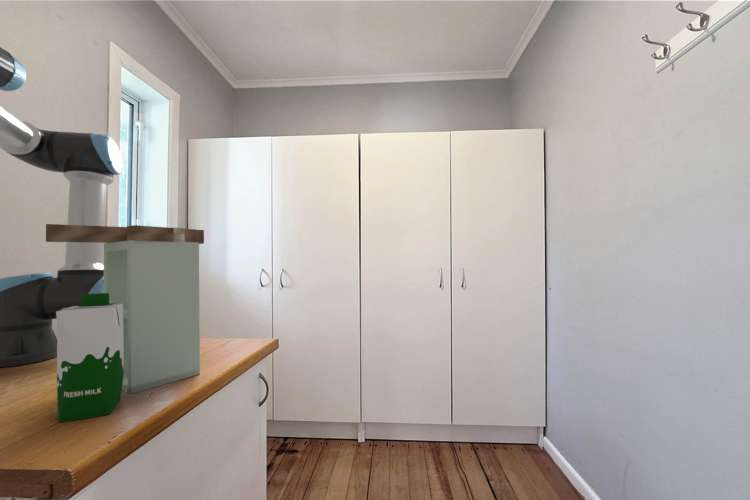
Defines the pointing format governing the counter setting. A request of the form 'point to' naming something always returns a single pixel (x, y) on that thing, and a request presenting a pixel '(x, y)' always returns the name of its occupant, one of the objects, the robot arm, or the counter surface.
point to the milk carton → (89, 358)
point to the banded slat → (160, 234)
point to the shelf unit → (156, 309)
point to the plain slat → (93, 234)
